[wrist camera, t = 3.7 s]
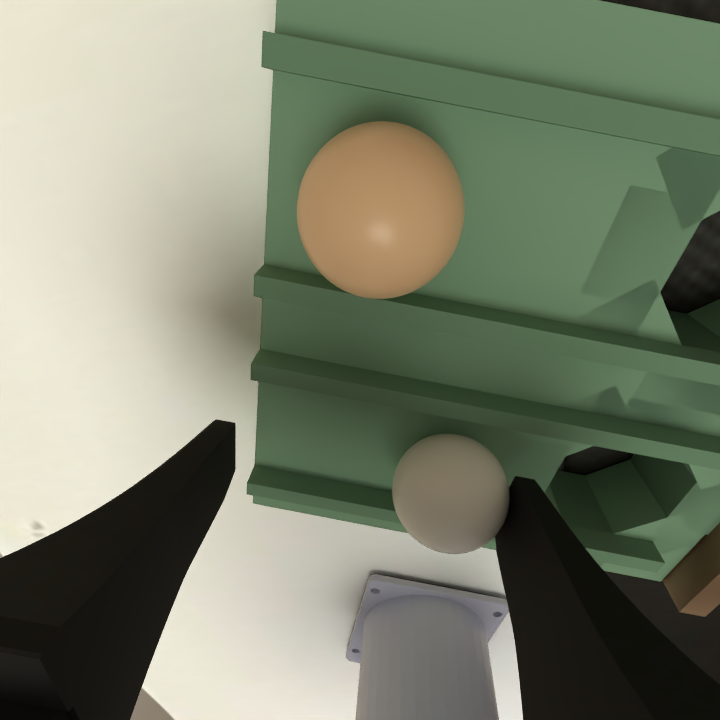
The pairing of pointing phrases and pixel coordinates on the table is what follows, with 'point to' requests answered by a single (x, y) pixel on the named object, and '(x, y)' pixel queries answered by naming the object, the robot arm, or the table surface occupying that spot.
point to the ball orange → (380, 210)
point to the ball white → (450, 493)
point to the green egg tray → (504, 265)
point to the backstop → (697, 577)
